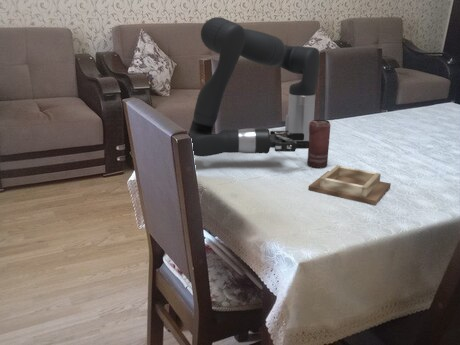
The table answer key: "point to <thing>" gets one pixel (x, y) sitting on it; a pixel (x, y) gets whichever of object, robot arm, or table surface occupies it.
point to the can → (318, 143)
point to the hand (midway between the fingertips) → (306, 140)
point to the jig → (351, 185)
